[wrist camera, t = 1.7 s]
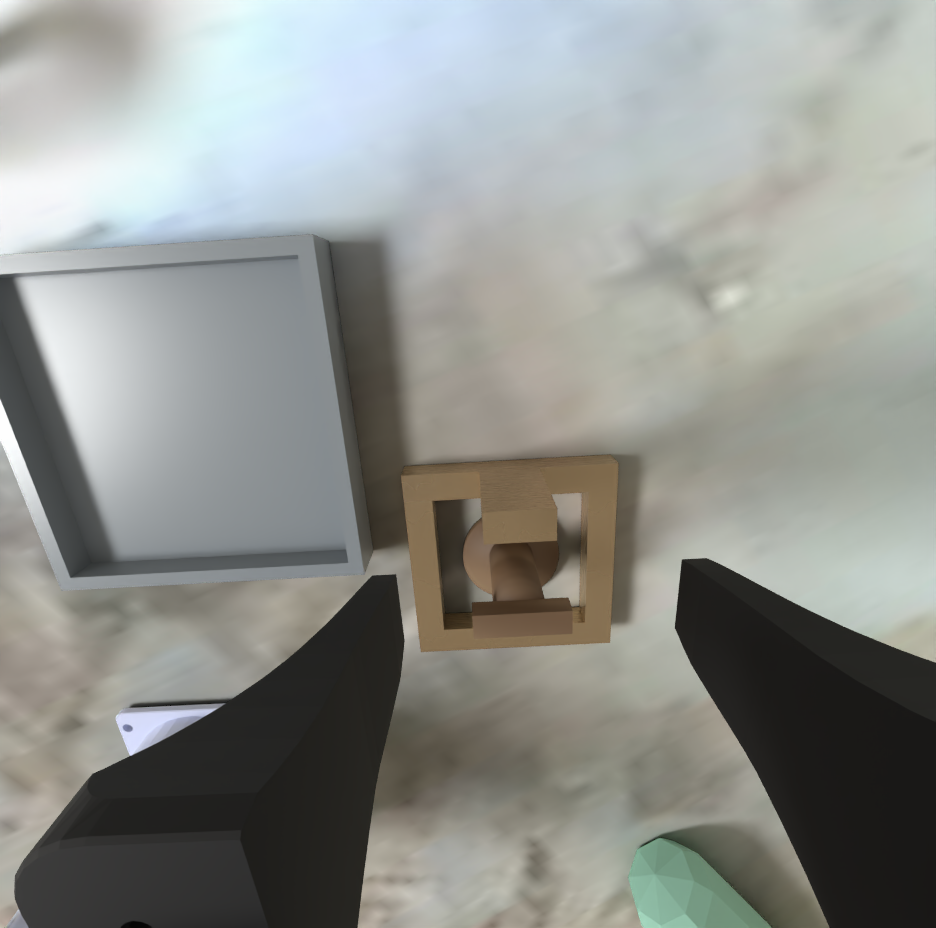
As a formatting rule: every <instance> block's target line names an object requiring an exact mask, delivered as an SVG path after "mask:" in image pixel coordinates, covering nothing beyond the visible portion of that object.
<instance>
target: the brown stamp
mask: <svg viewBox="0 0 936 928" xmlns="http://www.w3.org/2000/svg"><path fill="white" fill-rule="evenodd" d="M558 560H559V548H558V543H557V541H542V542H523V543H505V544H486V545H484V541H483V526H482V518H481V519H479V520H478V521H477V522H476V523H475V524H474V525H473V526H472V527H471V529H470V530H469V532H468V534H467V536H466V538H465V542H464V547H463V562H464V566H465V570H466V572H467V574H468V576H469V577H470V579H471V580H472V581H473V582H474V584H475V585H477V586H478V587H479V588H480V589H482V590H483V591H485V592H487V593H489V594H492V596H493V601H492V602H473V603H472V619H473V633H474V639H482V638H502V637H522V636H542V635H562V634H572V631H573V610H572V607H571V604H570V601H569V598H550V599H544V595H543V591H542V586H543V585H545V584H546V583H547V582H548V581H549V580H550V578H551V577H552V575H553V574H554V572H555V570H556V567H557V565H558Z"/></svg>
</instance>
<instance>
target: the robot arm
mask: <svg viewBox="0 0 936 928" xmlns="http://www.w3.org/2000/svg"><path fill="white" fill-rule="evenodd" d="M675 629H676V631H677V634H678V636H679V638H680V641H681V643H682V645H683V648H684V650H685V652H686V654H687V656H688V658H689V660H690V663H691V665H692V666H693V668H694V670H695V671H696V673H697V675H698V676H699V678H700V680H701V681H702V683H703V685H704V686H705V688H706V690H707V691H708V693H709V694H710V696H711V698H712V699H713V701H714V702H715V704H716V706H717V707H718V709H719V710H720V712H721V714H722V715H723V717H724V719H725V720H726V722H727V723H728V725H729V727H730V728H731V730H732V731H733V733H734V735H735V736H736V738H737V739H738V741H739V743H740V744H741V746H742V747H743V749H744V751H745V752H746V754H747V756H748V758H749V759H750V761H751V763H752V765H753V766H754V768H755V770H756V772H757V774H758V776H759V778H760V780H761V782H762V784H763V786H764V788H765V790H766V792H767V794H768V796H769V798H770V800H771V802H772V804H773V806H774V808H775V810H776V812H777V814H778V816H779V818H780V820H781V822H782V824H783V826H784V828H785V830H786V832H787V835H788V837H789V839H790V841H791V843H792V845H793V847H794V849H795V852H796V854H797V856H798V858H799V860H800V862H801V864H802V866H803V869H804V871H805V873H806V875H807V877H808V880H809V882H810V884H811V886H812V889H813V891H814V893H815V895H816V898H817V900H818V902H819V904H820V907H821V909H822V911H823V914H824V916H825V918H826V920H827V923H828V925H829V927H830V928H936V663H935V662H932V661H929V660H926V659H923V658H920V657H918V656H915V655H912V654H910V653H907V652H904V651H901V650H899V649H896V648H894V647H891V646H889V645H886V644H884V643H881V642H879V641H876V640H874V639H872V638H869V637H867V636H864V635H862V634H859V633H857V632H855V631H852V630H850V629H848V628H845V627H843V626H841V625H839V624H837V623H835V622H832V621H830V620H828V619H826V618H824V617H822V616H820V615H818V614H815V613H813V612H811V611H809V610H807V609H805V608H803V607H801V606H799V605H797V604H795V603H793V602H791V601H789V600H787V599H785V598H783V597H781V596H780V595H778V594H776V593H774V592H772V591H770V590H768V589H766V588H764V587H762V586H761V585H759V584H757V583H755V582H753V581H751V580H749V579H747V578H746V577H744V576H742V575H740V574H738V573H736V572H734V571H732V570H730V569H728V568H726V567H725V566H723V565H720V564H718V563H716V562H714V561H712V560H709V559H707V558H702V559H683V560H682V564H681V574H680V583H679V593H678V602H677V612H676V622H675ZM403 650H404V633H403V625H402V617H401V610H400V602H399V594H398V586H397V578H396V574H395V575H375V576H371V578H370V579H369V580H368V581H367V582H366V583H365V584H364V585H363V586H362V587H361V588H360V589H359V590H358V591H357V592H356V593H355V595H354V596H353V597H352V598H351V599H350V600H349V601H348V602H347V603H346V604H345V605H344V606H343V607H342V608H341V609H340V611H339V612H338V613H337V614H336V615H335V616H334V617H333V618H332V619H331V620H330V621H329V622H328V623H327V624H326V625H325V626H324V627H323V628H322V629H321V630H319V631H318V632H317V633H316V634H315V635H314V636H313V637H312V638H311V639H310V640H309V641H308V642H307V643H305V644H304V645H303V646H302V647H301V648H300V649H299V650H298V651H297V652H295V653H294V654H293V655H292V656H291V657H289V658H288V659H287V660H286V661H285V662H283V663H282V664H281V665H279V666H278V667H277V668H275V669H274V670H273V671H272V672H270V673H269V674H268V675H266V676H265V677H264V678H262V679H261V680H260V681H258V682H257V683H255V684H254V685H252V686H251V687H249V688H248V689H246V690H245V691H243V692H242V693H240V694H239V695H237V696H236V697H234V698H233V699H231V700H230V701H228V702H227V703H222V704H202V705H181V706H160V707H139V708H125V709H122V710H121V711H120V712H119V713H118V715H117V716H116V722H117V724H118V727H119V729H120V732H121V734H122V737H123V739H124V742H125V744H126V747H127V749H128V752H129V754H130V756H129V757H127V758H125V759H123V760H121V761H119V762H117V763H115V764H113V765H111V766H109V767H107V768H105V769H102V770H100V771H98V772H96V773H94V774H92V775H91V776H90V778H89V779H88V780H87V781H86V782H85V784H84V785H83V786H82V787H81V789H80V790H79V791H78V792H77V794H76V795H75V796H74V797H73V799H72V800H71V801H70V802H69V804H68V805H67V806H66V807H65V809H64V810H63V811H62V813H61V814H60V815H59V816H58V818H57V819H56V820H55V821H54V823H53V824H52V825H51V826H50V828H49V829H48V830H47V831H46V833H45V834H44V835H43V836H42V838H41V839H40V840H39V841H38V843H37V844H36V845H35V846H34V848H33V849H32V850H31V852H30V853H29V854H28V855H27V857H26V858H25V859H24V860H23V862H22V864H21V866H20V867H19V869H18V871H17V873H16V875H15V889H14V894H15V900H16V903H17V905H18V908H19V909H18V911H17V912H16V914H15V915H14V916H13V918H12V919H11V920H10V922H9V923H8V924H7V926H6V927H5V928H357V927H358V918H359V909H360V901H361V892H362V884H363V876H364V868H365V861H366V853H367V845H368V837H369V830H370V823H371V816H372V809H373V802H374V795H375V788H376V783H377V778H378V772H379V767H380V763H381V759H382V755H383V750H384V746H385V742H386V738H387V734H388V729H389V725H390V721H391V717H392V713H393V708H394V704H395V700H396V695H397V691H398V687H399V682H400V677H401V669H402V660H403Z"/></svg>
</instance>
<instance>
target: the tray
mask: <svg viewBox="0 0 936 928" xmlns="http://www.w3.org/2000/svg"><path fill="white" fill-rule="evenodd" d="M0 440H1V442H2V444H3V447H4V449H5V452H6V454H7V457H8V459H9V462H10V464H11V467H12V469H13V472H14V474H15V477H16V479H17V482H18V484H19V487H20V489H21V492H22V494H23V497H24V499H25V502H26V504H27V507H28V509H29V511H30V514H31V516H32V519H33V521H34V524H35V526H36V529H37V531H38V534H39V536H40V539H41V541H42V544H43V546H44V549H45V551H46V554H47V556H48V559H49V561H50V564H51V566H52V569H53V571H54V573H55V576H56V578H57V581H58V583H59V586H60V588H61V591H63V590H82V589H101V588H120V587H139V586H158V585H177V584H195V583H214V582H233V581H252V580H271V579H290V578H309V577H328V576H347V575H364V574H365V572H366V569H367V566H368V564H369V561H370V558H371V556H372V553H373V546H372V539H371V532H370V525H369V518H368V511H367V504H366V497H365V490H364V483H363V476H362V469H361V462H360V455H359V448H358V441H357V434H356V427H355V420H354V413H353V406H352V399H351V392H350V385H349V378H348V371H347V364H346V357H345V350H344V343H343V336H342V329H341V322H340V315H339V308H338V301H337V294H336V287H335V280H334V273H333V266H332V259H331V252H330V245H329V241H327V240H325V239H322V238H320V237H318V236H315V235H313V234H308V235H293V236H278V237H263V238H248V239H233V240H218V241H202V242H187V243H172V244H157V245H142V246H127V247H112V248H97V249H82V250H66V251H51V252H36V253H21V254H6V255H0Z"/></svg>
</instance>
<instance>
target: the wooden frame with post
mask: <svg viewBox="0 0 936 928" xmlns="http://www.w3.org/2000/svg"><path fill="white" fill-rule="evenodd" d="M618 467H619V463H618V462H617V461H616V460H615V459H614V458H613V457H612V456H611V455H593V456H576V457H558V458H541V459H523V460H506V461H488V462H471V463H453V464H436V465H418V466H404V469H403V472H402V474H401V481H402V490H403V499H404V508H405V516H406V525H407V534H408V543H409V552H410V560H411V569H412V578H413V587H414V595H415V604H416V613H417V622H418V630H419V639H420V648H421V652H430V651H450V650H470V649H490V648H510V647H530V646H550V645H570V644H590V643H610V631H611V611H612V590H613V570H614V549H615V528H616V508H617V487H618ZM564 493H582V507H581V553H580V600H579V607H572V610H573V631H572V634H562V635H542V636H522V637H502V638H482V639H474V633H473V619H472V612H470V613H451V614H445V606H444V595H443V584H442V573H441V562H440V551H439V539H438V528H437V517H436V506H435V501H438V500H456V499H474V498H481V512H482V526H483V541H484V545H486V544H505V543H523V542H542V541H557V507H556V505H555V502H554V500H553V498H552V495H551V494H564Z"/></svg>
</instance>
